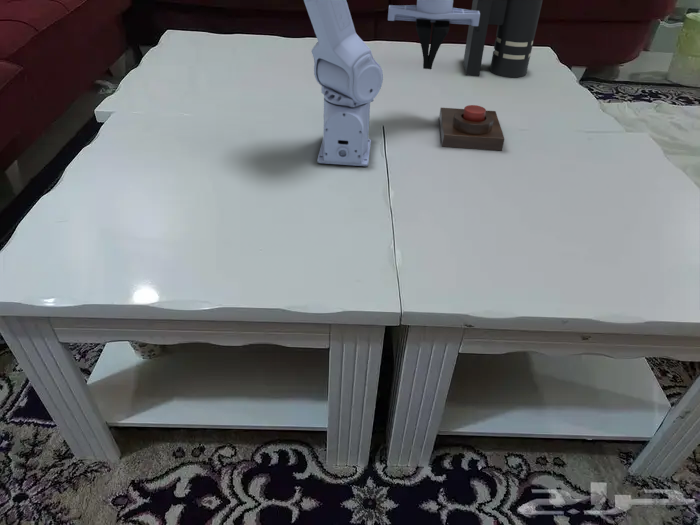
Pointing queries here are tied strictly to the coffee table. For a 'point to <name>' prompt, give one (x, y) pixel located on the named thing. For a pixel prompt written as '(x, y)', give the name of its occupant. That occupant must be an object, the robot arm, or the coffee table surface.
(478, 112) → the button
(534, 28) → the light fixture
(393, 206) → the coffee table surface
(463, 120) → the switch block
